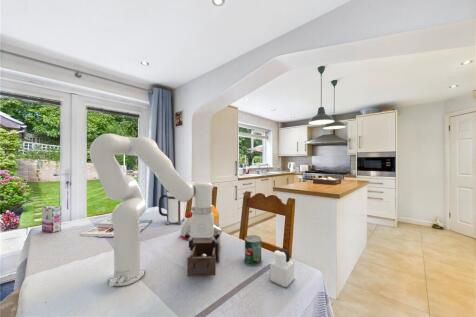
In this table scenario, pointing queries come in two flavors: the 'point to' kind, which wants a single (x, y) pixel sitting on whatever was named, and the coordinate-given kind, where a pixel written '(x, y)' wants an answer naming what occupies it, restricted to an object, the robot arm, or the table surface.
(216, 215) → the orange juice
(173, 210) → the coffee press
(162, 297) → the table surface
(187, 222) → the kitchen timer
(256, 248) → the canned tomato
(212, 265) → the drawer
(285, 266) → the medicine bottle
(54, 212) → the candy bar box
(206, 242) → the cabinet
